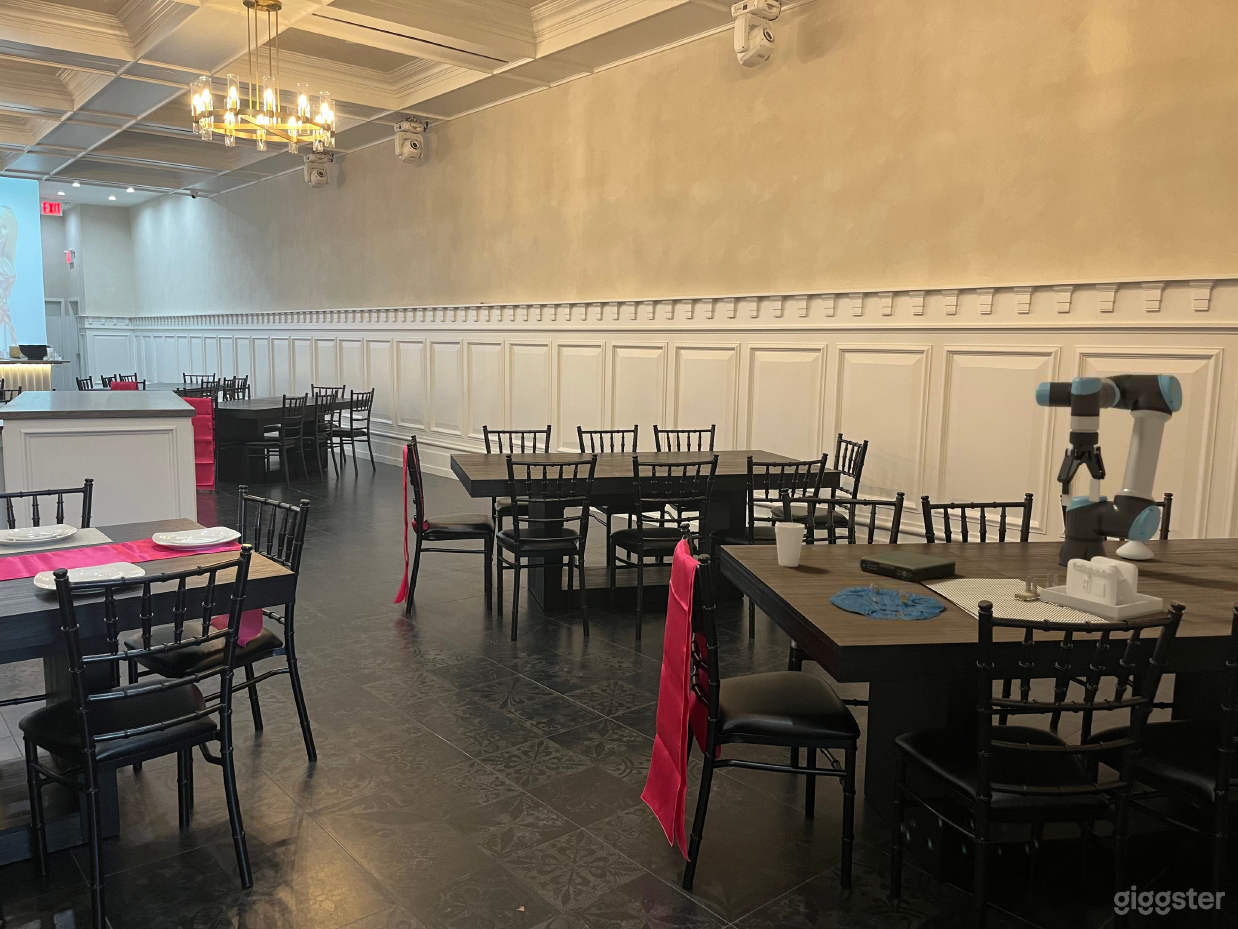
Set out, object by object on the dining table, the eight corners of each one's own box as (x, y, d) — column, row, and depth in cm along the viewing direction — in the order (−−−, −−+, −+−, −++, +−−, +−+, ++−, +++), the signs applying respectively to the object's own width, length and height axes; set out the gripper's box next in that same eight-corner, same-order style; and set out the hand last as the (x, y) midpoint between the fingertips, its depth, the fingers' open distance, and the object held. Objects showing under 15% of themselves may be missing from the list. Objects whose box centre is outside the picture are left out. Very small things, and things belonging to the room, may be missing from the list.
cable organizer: (1139, 609, 241) (1142, 565, 240) (1108, 612, 237) (1111, 568, 236) (1092, 595, 255) (1095, 554, 254) (1063, 598, 251) (1065, 556, 250)
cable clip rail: (1076, 588, 267) (1078, 568, 266) (1086, 590, 264) (1087, 570, 264) (1014, 599, 253) (1015, 577, 252) (1023, 601, 250) (1025, 580, 250)
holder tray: (1084, 593, 261) (1085, 581, 260) (1161, 611, 242) (1162, 598, 241) (1039, 601, 251) (1040, 589, 250) (1116, 620, 232) (1117, 607, 231)
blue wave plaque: (970, 624, 233) (972, 604, 233) (862, 628, 227) (864, 607, 226) (910, 592, 262) (911, 574, 261) (813, 594, 256) (814, 576, 255)
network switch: (959, 574, 285) (960, 559, 285) (924, 586, 269) (924, 569, 268) (891, 563, 302) (892, 548, 301) (854, 573, 286) (854, 557, 285)
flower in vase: (1145, 563, 305) (1150, 489, 302) (1109, 557, 314) (1114, 485, 311) (1161, 558, 313) (1166, 486, 310) (1126, 553, 322) (1131, 483, 319)
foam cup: (792, 560, 301) (793, 521, 300) (809, 566, 293) (810, 526, 292) (768, 562, 297) (769, 523, 296) (784, 568, 289) (786, 528, 288)
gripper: (1096, 427, 272) (1093, 497, 274) (1045, 432, 259) (1042, 505, 261) (1121, 429, 265) (1117, 501, 268) (1070, 434, 252) (1067, 509, 255)
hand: (1080, 503), depth 265 cm, fingers open, 13 cm apart
